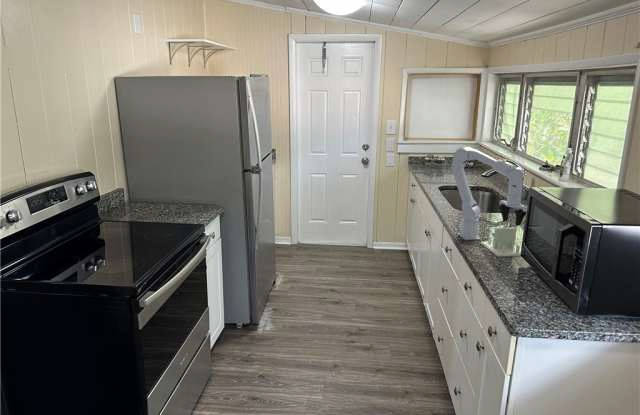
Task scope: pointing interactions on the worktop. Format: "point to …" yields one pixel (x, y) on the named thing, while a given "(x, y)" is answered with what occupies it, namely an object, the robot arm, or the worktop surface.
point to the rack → (502, 251)
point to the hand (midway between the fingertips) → (511, 223)
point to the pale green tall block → (504, 236)
